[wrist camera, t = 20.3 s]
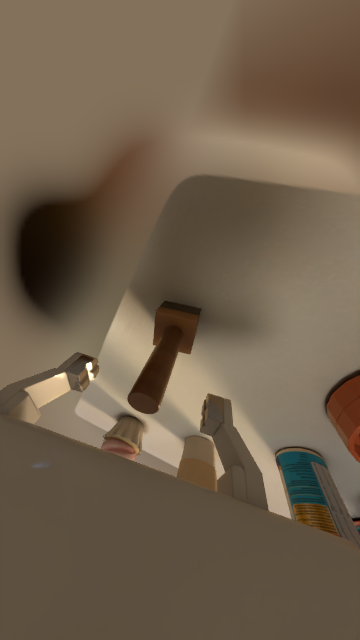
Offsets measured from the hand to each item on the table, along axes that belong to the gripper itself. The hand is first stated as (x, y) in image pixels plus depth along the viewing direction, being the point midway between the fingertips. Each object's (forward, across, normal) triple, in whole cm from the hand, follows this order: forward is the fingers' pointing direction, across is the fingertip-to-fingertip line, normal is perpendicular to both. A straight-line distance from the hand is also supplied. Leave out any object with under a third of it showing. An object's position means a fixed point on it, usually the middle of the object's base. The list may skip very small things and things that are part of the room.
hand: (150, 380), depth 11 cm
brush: (+12, 0, +2) cm, 12 cm away
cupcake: (+11, +6, +34) cm, 36 cm away
